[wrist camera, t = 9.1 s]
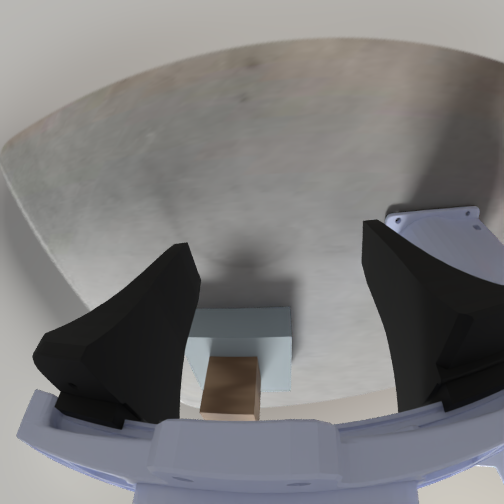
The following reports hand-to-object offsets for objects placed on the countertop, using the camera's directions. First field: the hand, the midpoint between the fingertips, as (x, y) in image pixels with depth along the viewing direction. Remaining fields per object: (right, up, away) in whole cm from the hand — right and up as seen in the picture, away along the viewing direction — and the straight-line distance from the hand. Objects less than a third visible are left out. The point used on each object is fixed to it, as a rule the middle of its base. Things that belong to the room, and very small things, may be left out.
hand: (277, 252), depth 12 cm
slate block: (-2, -9, +18) cm, 21 cm away
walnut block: (-2, -12, +15) cm, 19 cm away
